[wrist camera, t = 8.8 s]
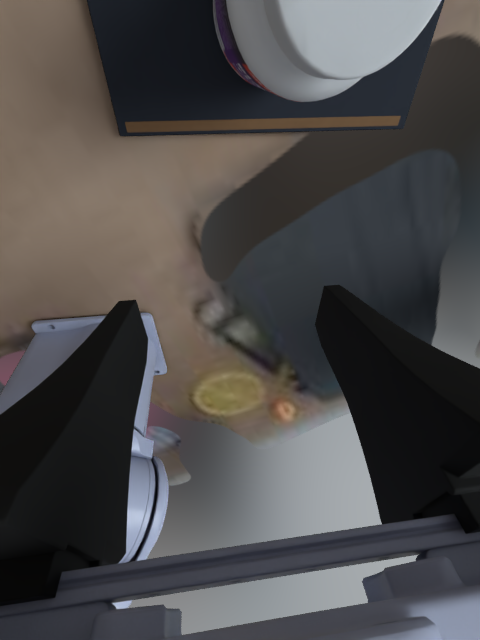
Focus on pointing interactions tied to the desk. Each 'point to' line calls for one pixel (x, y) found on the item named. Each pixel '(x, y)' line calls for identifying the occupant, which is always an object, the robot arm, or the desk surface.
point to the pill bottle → (315, 41)
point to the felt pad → (227, 78)
